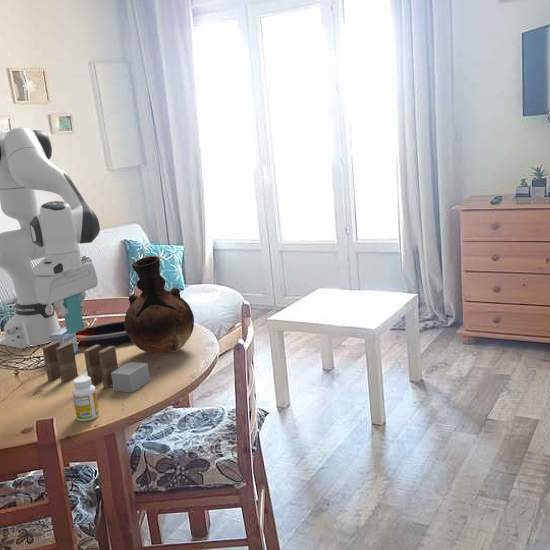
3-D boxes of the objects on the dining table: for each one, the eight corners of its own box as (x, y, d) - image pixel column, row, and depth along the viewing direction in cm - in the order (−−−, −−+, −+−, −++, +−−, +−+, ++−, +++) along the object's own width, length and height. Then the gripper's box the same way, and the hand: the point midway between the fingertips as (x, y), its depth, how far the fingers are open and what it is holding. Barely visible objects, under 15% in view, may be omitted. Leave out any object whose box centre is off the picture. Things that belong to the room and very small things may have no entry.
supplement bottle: (91, 410, 158) (85, 373, 155) (104, 414, 154) (98, 377, 152) (72, 418, 154) (65, 381, 151) (85, 423, 150) (78, 385, 148)
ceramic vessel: (201, 340, 204) (190, 249, 197) (192, 359, 187) (180, 260, 180) (137, 345, 205) (124, 254, 198) (122, 364, 188) (108, 266, 181)
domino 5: (103, 386, 172) (98, 352, 170) (115, 379, 176) (110, 345, 174) (108, 387, 171) (103, 352, 169) (120, 380, 176) (114, 346, 174)
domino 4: (89, 385, 174) (83, 350, 172) (101, 378, 179) (95, 344, 176) (93, 385, 173) (88, 351, 171) (105, 378, 178) (100, 345, 176)
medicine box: (66, 361, 195) (61, 334, 194) (53, 361, 196) (48, 334, 195) (79, 352, 203) (74, 326, 201) (66, 352, 204) (62, 326, 202)
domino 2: (84, 328, 177) (78, 293, 175) (71, 334, 172) (65, 298, 170) (79, 328, 177) (74, 293, 175) (67, 333, 173) (61, 298, 171)
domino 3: (61, 381, 178) (55, 348, 176) (73, 375, 183) (68, 342, 181) (65, 382, 178) (60, 348, 175) (78, 375, 182) (72, 342, 180)
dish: (157, 341, 208) (155, 326, 207) (60, 354, 203) (57, 339, 202) (157, 327, 223) (155, 314, 222) (66, 339, 218) (64, 326, 217)
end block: (113, 390, 169) (111, 372, 168) (132, 379, 176) (129, 362, 175) (131, 392, 166) (129, 374, 165) (149, 380, 173) (147, 363, 172)
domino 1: (48, 380, 180) (42, 347, 178) (60, 373, 185) (55, 341, 183) (52, 380, 180) (46, 347, 178) (64, 374, 184) (59, 341, 182)
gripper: (81, 254, 181) (88, 300, 184) (27, 270, 163) (36, 321, 166) (99, 254, 178) (106, 301, 181) (45, 270, 160) (54, 323, 163)
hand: (72, 311), depth 174 cm, fingers closed on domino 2, 5 cm apart
